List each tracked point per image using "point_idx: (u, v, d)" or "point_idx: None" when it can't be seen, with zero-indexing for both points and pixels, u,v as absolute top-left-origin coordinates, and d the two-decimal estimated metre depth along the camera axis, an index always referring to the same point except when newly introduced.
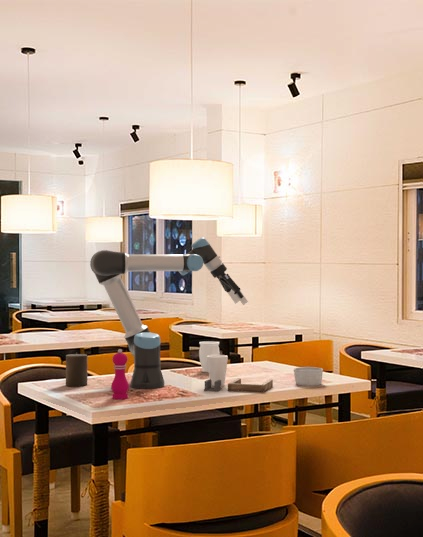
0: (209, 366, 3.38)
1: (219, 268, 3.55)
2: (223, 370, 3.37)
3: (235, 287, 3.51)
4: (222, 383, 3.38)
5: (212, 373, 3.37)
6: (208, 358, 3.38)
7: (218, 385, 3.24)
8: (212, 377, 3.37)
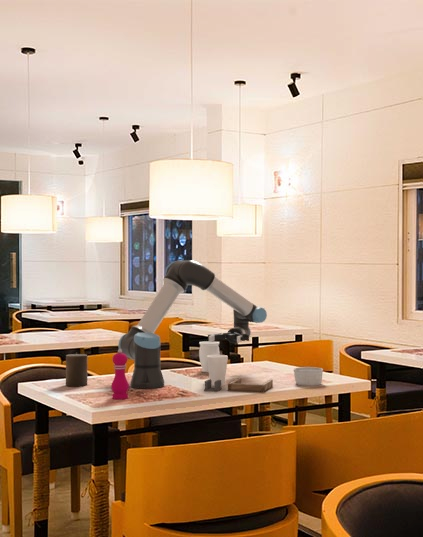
0: (209, 366, 3.38)
1: None
2: (223, 370, 3.37)
3: None
4: (222, 383, 3.38)
5: (212, 373, 3.37)
6: (208, 358, 3.38)
7: (218, 385, 3.24)
8: (212, 377, 3.37)
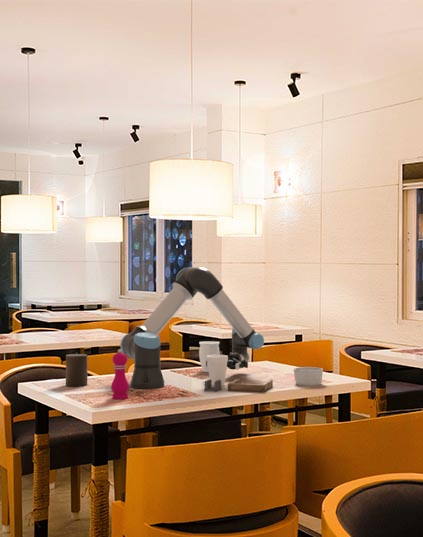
0: (209, 366, 3.38)
1: (241, 361, 3.63)
2: (223, 370, 3.37)
3: None
4: (222, 383, 3.38)
5: (212, 373, 3.37)
6: (208, 358, 3.38)
7: (218, 385, 3.24)
8: (212, 377, 3.37)
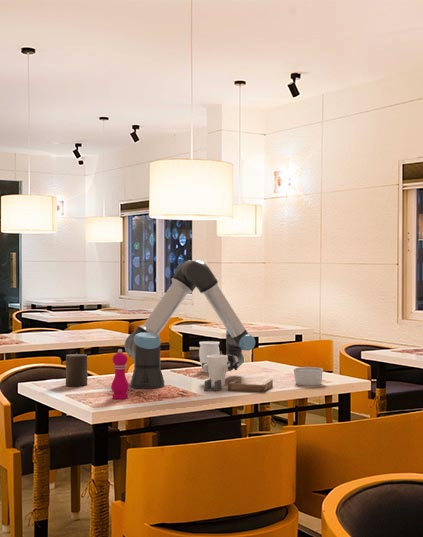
0: (209, 366, 3.38)
1: None
2: (223, 370, 3.37)
3: None
4: (222, 383, 3.38)
5: (212, 373, 3.37)
6: (208, 358, 3.38)
7: (218, 385, 3.24)
8: (212, 377, 3.37)
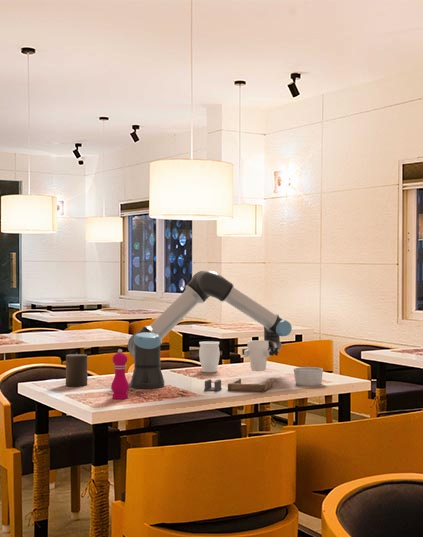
0: (250, 351, 3.39)
1: None
2: (264, 355, 3.38)
3: None
4: (263, 368, 3.39)
5: (253, 358, 3.38)
6: (249, 343, 3.39)
7: (218, 385, 3.24)
8: (253, 362, 3.39)
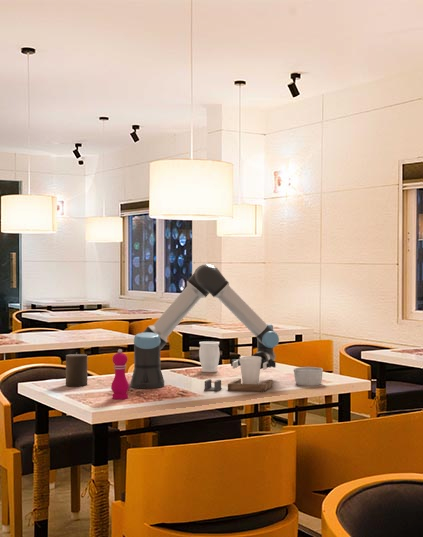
0: (242, 368, 3.27)
1: (267, 360, 3.44)
2: (257, 372, 3.26)
3: None
4: None
5: (245, 375, 3.26)
6: (241, 359, 3.27)
7: (218, 385, 3.24)
8: (245, 379, 3.26)
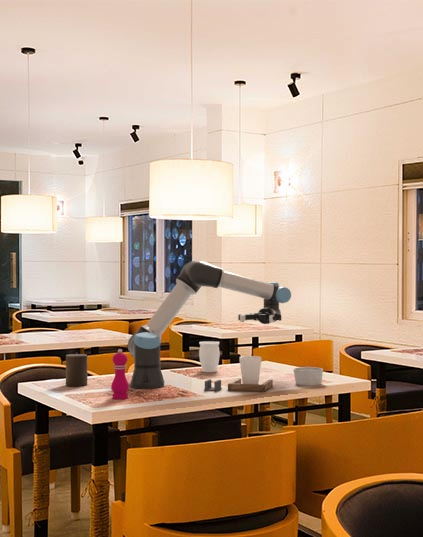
0: (242, 368, 3.27)
1: None
2: (257, 372, 3.26)
3: None
4: None
5: (245, 375, 3.26)
6: (241, 359, 3.26)
7: (218, 385, 3.24)
8: (245, 379, 3.26)
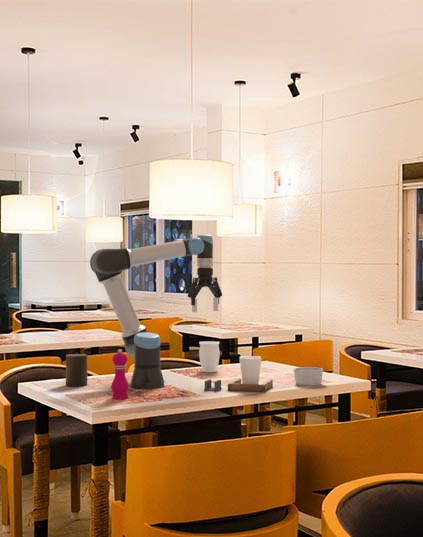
0: (242, 368, 3.27)
1: (199, 269, 3.58)
2: (257, 372, 3.26)
3: (190, 292, 3.55)
4: None
5: (245, 375, 3.26)
6: (241, 359, 3.26)
7: (218, 385, 3.24)
8: (245, 379, 3.26)
